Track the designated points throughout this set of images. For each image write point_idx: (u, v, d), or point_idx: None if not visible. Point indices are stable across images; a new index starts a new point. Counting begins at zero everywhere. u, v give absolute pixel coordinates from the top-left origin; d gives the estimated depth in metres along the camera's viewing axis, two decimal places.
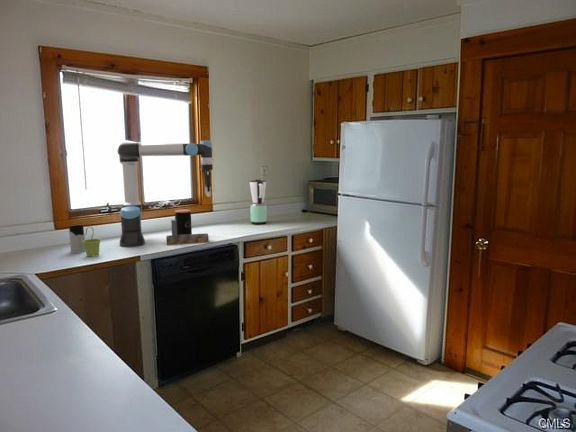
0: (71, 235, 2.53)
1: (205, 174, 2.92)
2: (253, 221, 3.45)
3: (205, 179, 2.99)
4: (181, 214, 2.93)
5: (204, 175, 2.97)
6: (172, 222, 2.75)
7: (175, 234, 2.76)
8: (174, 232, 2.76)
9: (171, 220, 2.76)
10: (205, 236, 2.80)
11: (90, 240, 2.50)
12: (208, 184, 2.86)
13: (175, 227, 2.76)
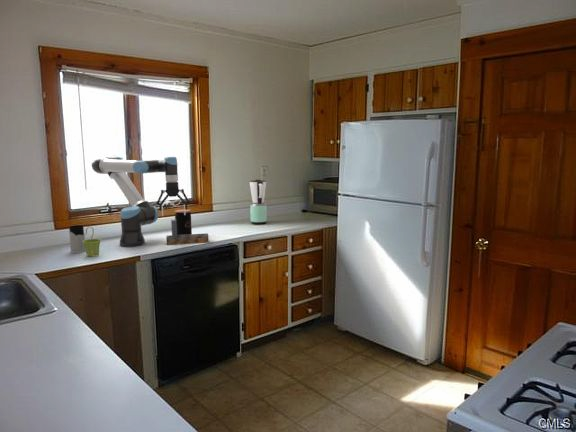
0: (71, 235, 2.53)
1: None
2: (253, 221, 3.45)
3: None
4: (181, 214, 2.93)
5: (177, 193, 2.77)
6: (172, 222, 2.75)
7: (175, 234, 2.76)
8: (174, 232, 2.76)
9: (171, 220, 2.76)
10: (205, 236, 2.80)
11: (90, 240, 2.50)
12: None
13: (175, 227, 2.76)
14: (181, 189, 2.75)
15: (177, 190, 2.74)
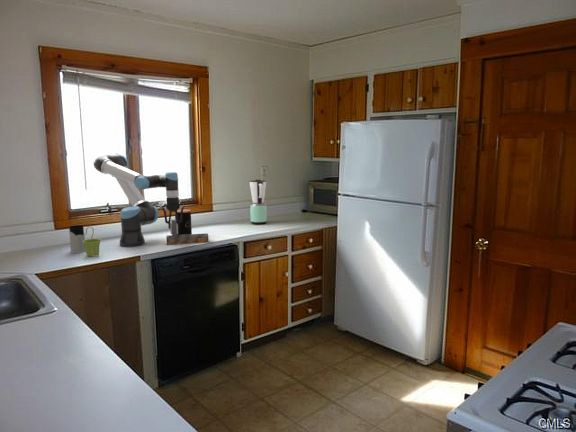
0: (71, 235, 2.53)
1: None
2: (253, 221, 3.45)
3: None
4: None
5: None
6: (172, 222, 2.75)
7: (175, 234, 2.76)
8: (174, 232, 2.76)
9: (171, 220, 2.76)
10: (205, 236, 2.80)
11: (90, 240, 2.50)
12: None
13: (175, 227, 2.76)
14: None
15: (178, 205, 2.76)
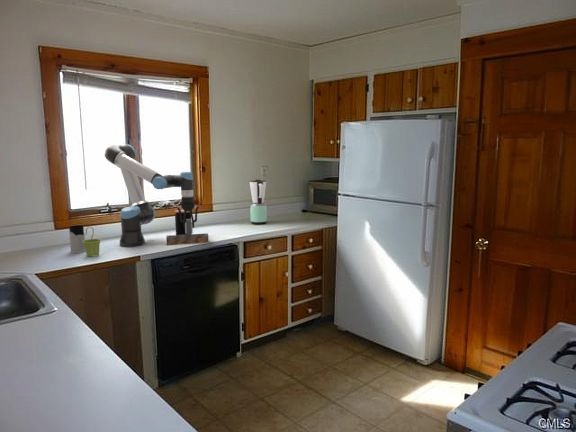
0: (71, 235, 2.53)
1: None
2: (253, 221, 3.45)
3: None
4: (181, 214, 2.93)
5: None
6: (187, 221, 2.77)
7: (190, 233, 2.79)
8: (189, 231, 2.78)
9: (186, 219, 2.79)
10: (205, 236, 2.80)
11: (90, 240, 2.50)
12: None
13: (190, 226, 2.78)
14: (196, 206, 2.79)
15: (193, 205, 2.78)
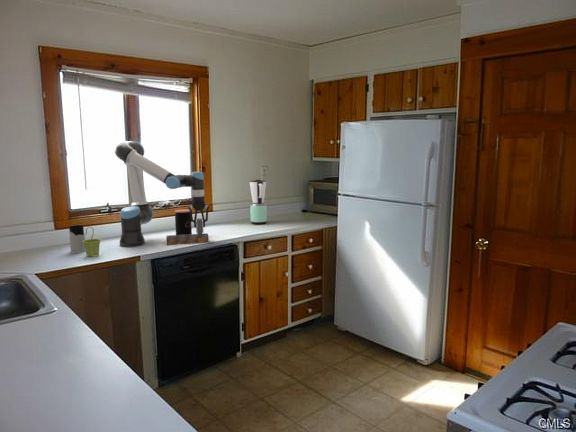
0: (71, 235, 2.53)
1: None
2: (253, 221, 3.45)
3: (201, 213, 2.82)
4: (181, 214, 2.93)
5: None
6: (198, 221, 2.79)
7: (201, 233, 2.80)
8: (200, 231, 2.80)
9: (197, 219, 2.80)
10: (205, 236, 2.80)
11: (90, 240, 2.50)
12: None
13: (201, 226, 2.80)
14: None
15: (203, 204, 2.80)
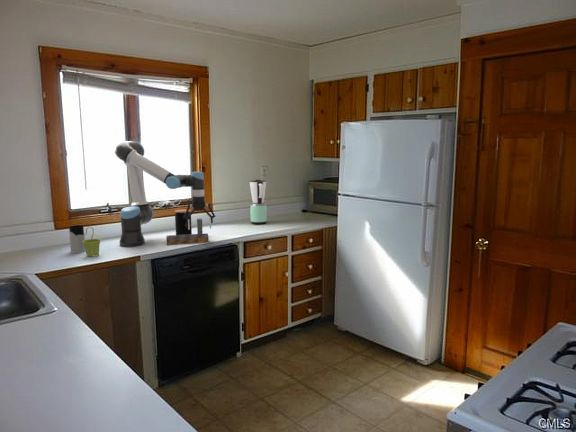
0: (71, 235, 2.53)
1: None
2: (253, 221, 3.45)
3: None
4: (181, 214, 2.93)
5: None
6: (198, 221, 2.79)
7: (201, 233, 2.80)
8: (200, 231, 2.80)
9: (197, 219, 2.80)
10: (205, 236, 2.80)
11: (90, 240, 2.50)
12: (183, 216, 2.79)
13: (201, 226, 2.80)
14: None
15: (203, 204, 2.79)
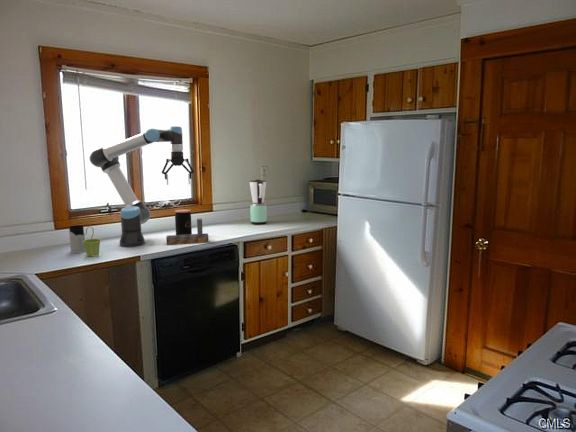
0: (71, 235, 2.53)
1: None
2: (253, 221, 3.45)
3: (184, 167, 2.84)
4: (181, 214, 2.93)
5: None
6: (198, 221, 2.79)
7: (201, 233, 2.80)
8: (200, 231, 2.80)
9: (197, 219, 2.80)
10: (205, 236, 2.80)
11: (90, 240, 2.50)
12: (162, 171, 2.80)
13: (201, 226, 2.80)
14: None
15: (182, 159, 2.80)
